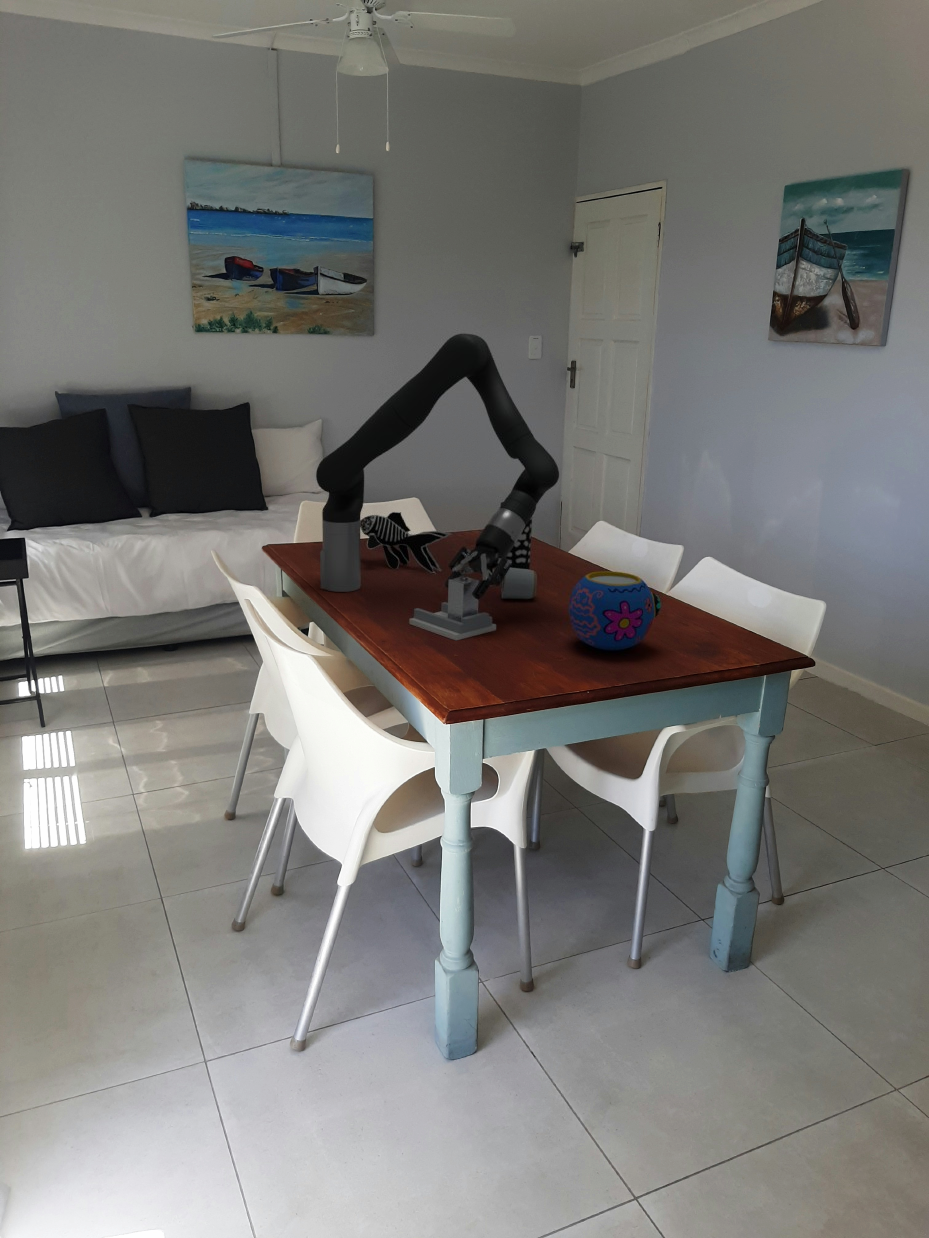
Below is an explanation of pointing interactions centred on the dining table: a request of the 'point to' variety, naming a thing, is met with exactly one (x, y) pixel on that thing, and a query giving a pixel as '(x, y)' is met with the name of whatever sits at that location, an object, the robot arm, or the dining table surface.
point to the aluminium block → (462, 598)
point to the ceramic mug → (519, 584)
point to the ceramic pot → (612, 610)
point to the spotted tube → (521, 549)
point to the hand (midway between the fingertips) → (461, 592)
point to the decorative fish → (400, 540)
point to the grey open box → (452, 623)
